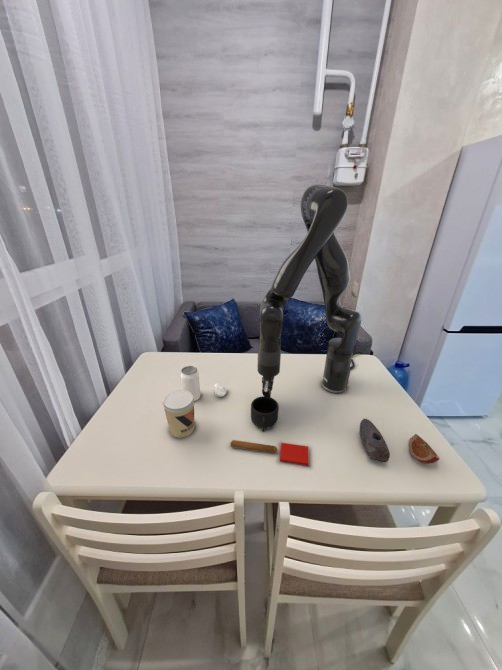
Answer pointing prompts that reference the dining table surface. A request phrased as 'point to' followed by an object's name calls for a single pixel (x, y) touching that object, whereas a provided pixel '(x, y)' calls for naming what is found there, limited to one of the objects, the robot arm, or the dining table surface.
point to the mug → (264, 412)
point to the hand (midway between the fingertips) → (267, 400)
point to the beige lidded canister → (179, 413)
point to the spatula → (287, 454)
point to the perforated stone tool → (374, 442)
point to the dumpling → (219, 390)
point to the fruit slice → (422, 450)
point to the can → (191, 381)
